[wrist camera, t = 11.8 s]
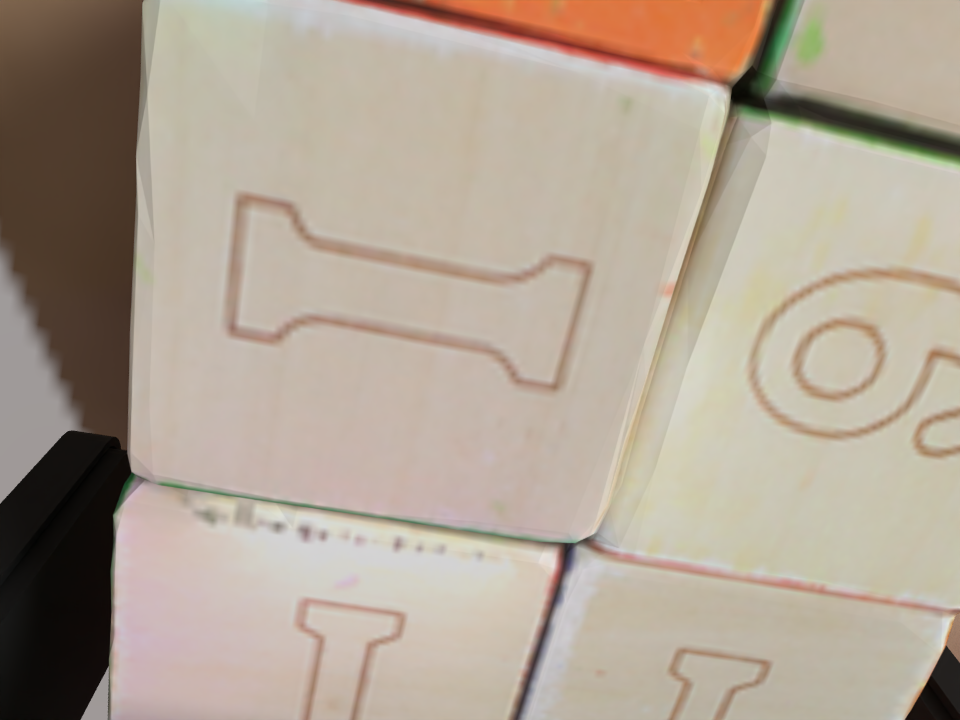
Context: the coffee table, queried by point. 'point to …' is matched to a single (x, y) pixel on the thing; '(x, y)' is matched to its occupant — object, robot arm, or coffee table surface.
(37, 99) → the coffee table surface
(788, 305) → the stack of blocks
